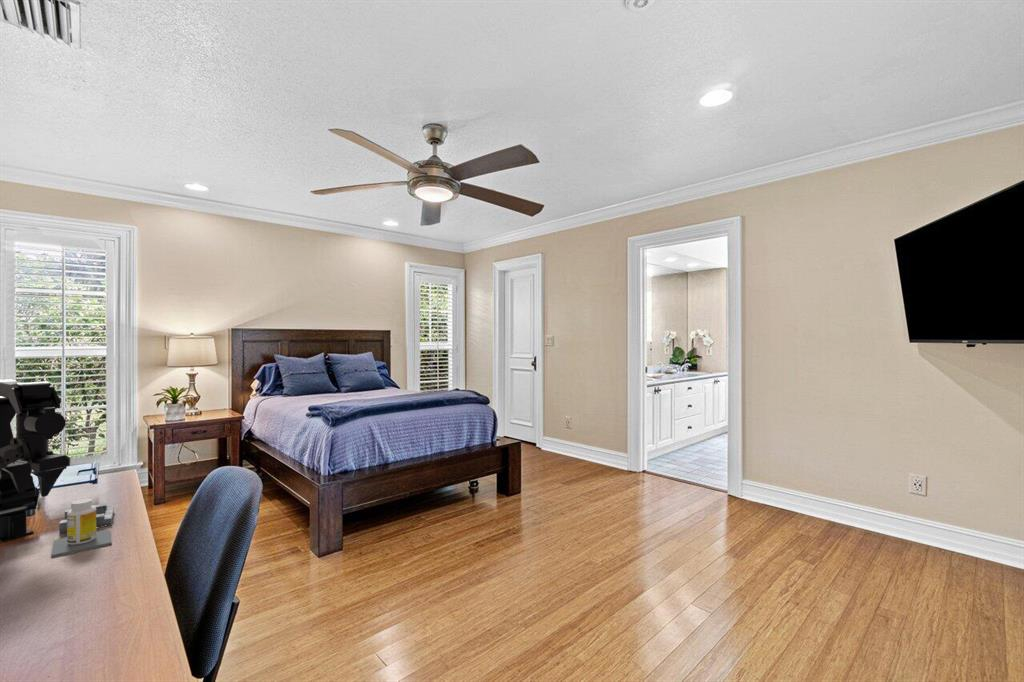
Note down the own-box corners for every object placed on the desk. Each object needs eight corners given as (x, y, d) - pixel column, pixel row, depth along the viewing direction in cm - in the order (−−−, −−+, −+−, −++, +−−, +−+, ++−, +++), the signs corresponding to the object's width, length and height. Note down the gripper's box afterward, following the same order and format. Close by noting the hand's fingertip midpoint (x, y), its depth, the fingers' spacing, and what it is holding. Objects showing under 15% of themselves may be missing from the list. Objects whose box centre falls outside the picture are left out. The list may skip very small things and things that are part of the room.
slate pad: (53, 542, 122) (53, 540, 122) (109, 531, 129) (110, 529, 129) (51, 557, 114) (51, 555, 114) (111, 544, 121) (111, 542, 121)
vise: (110, 530, 130) (110, 519, 130) (56, 540, 124) (56, 528, 124) (113, 512, 144) (113, 502, 144) (65, 520, 137) (65, 509, 137)
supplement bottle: (100, 535, 125) (100, 496, 125) (90, 544, 120) (90, 503, 120) (73, 538, 123) (73, 498, 123) (62, 547, 118) (62, 506, 118)
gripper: (-35, 436, 115) (-34, 500, 115) (13, 441, 109) (13, 509, 109) (25, 427, 126) (25, 487, 126) (71, 432, 120) (71, 494, 120)
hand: (32, 494), depth 120 cm, fingers open, 9 cm apart
